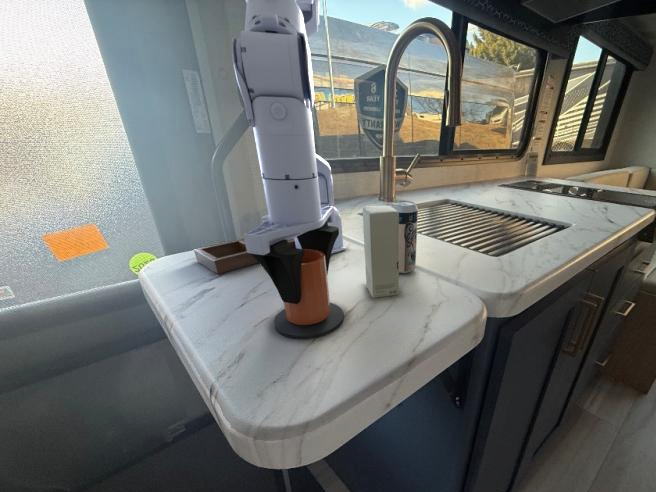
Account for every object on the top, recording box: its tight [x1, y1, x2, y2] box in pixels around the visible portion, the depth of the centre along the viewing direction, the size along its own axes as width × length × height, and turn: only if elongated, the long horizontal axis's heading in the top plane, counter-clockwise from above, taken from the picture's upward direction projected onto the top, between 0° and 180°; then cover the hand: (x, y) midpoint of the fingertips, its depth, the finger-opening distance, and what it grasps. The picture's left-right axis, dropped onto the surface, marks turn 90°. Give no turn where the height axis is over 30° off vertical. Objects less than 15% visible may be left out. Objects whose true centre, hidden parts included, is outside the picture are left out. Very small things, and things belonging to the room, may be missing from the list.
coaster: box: [273, 302, 345, 340], centre depth 42 cm, size 9×9×1 cm
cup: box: [283, 249, 331, 325], centre depth 39 cm, size 6×6×8 cm
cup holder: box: [193, 238, 296, 275], centre depth 62 cm, size 9×17×2 cm, turn 140°
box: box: [362, 205, 400, 298], centre depth 47 cm, size 5×4×13 cm
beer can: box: [390, 200, 419, 274], centre depth 55 cm, size 5×5×12 cm
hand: (306, 290), depth 40 cm, fingers closed on cup, 5 cm apart
